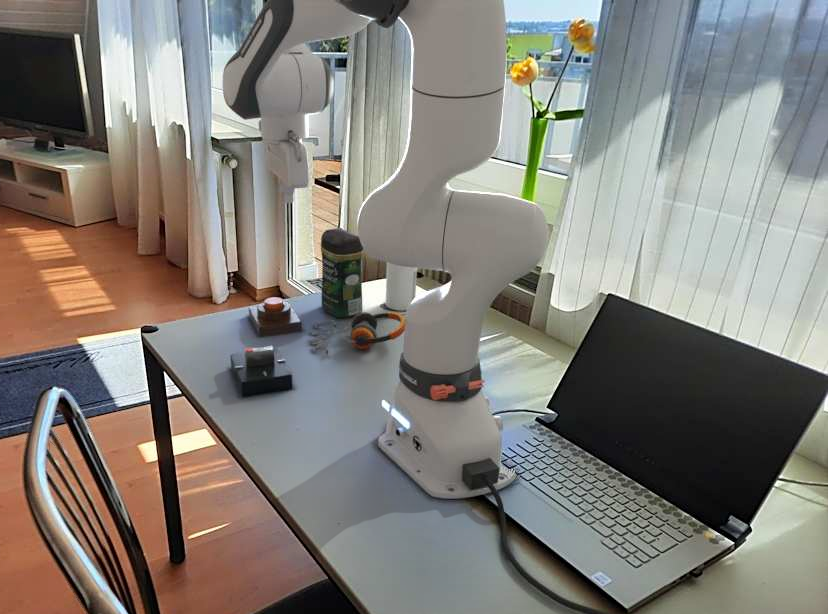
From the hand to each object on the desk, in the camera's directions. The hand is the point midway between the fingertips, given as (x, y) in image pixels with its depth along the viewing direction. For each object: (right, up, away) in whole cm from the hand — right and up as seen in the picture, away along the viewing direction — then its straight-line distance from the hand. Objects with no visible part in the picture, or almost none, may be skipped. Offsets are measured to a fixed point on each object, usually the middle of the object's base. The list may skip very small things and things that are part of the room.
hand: (287, 201), depth 127 cm
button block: (-4, -23, +14) cm, 27 cm away
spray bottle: (+24, -19, +24) cm, 39 cm away
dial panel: (-4, -34, -8) cm, 35 cm away
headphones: (+14, -27, +7) cm, 31 cm away
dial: (-4, -32, -9) cm, 33 cm away
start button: (-4, -20, +12) cm, 24 cm away
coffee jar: (+10, -20, +21) cm, 31 cm away
